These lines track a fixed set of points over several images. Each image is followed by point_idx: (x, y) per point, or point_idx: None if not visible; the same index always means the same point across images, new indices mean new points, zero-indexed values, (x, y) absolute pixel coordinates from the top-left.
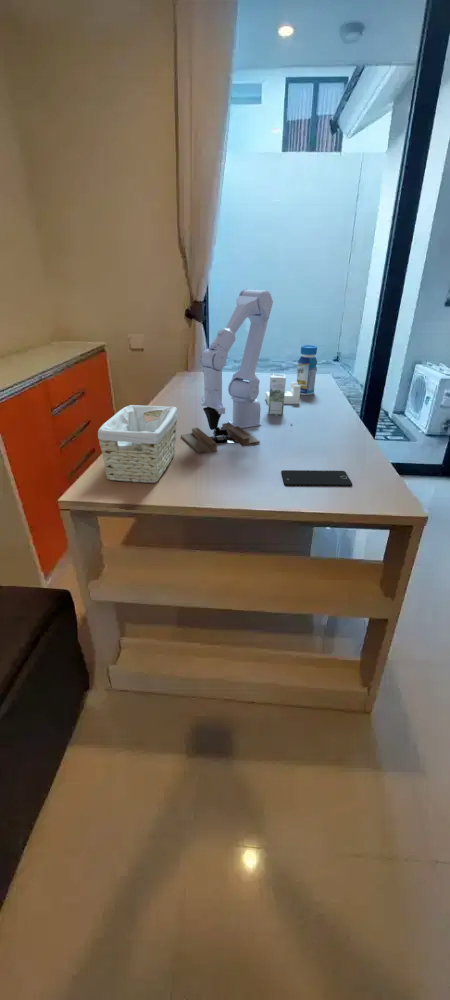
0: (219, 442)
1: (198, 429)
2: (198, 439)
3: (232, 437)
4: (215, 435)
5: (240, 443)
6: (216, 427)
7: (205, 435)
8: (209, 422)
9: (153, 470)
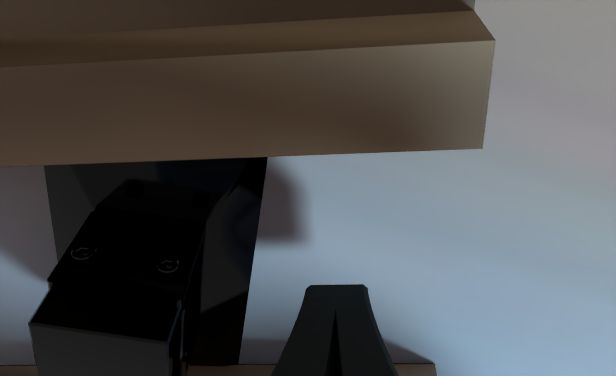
0: (68, 234)
1: (366, 130)
2: (131, 15)
3: None
4: (62, 261)
5: (3, 373)
6: (162, 364)
7: (39, 141)
8: (316, 363)
9: None
